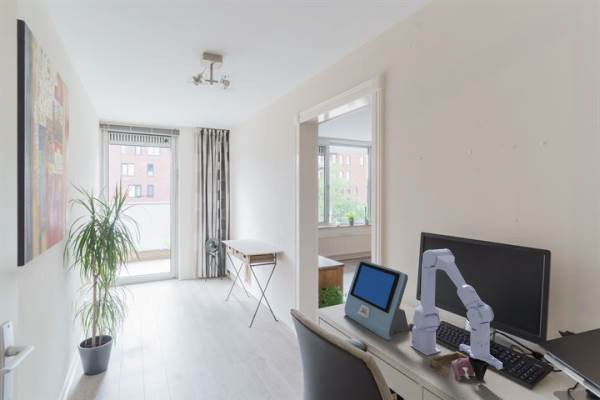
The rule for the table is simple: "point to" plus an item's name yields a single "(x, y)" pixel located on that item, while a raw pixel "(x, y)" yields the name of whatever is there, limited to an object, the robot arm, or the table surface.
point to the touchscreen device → (377, 299)
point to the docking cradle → (445, 362)
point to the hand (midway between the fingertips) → (479, 379)
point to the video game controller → (459, 365)
